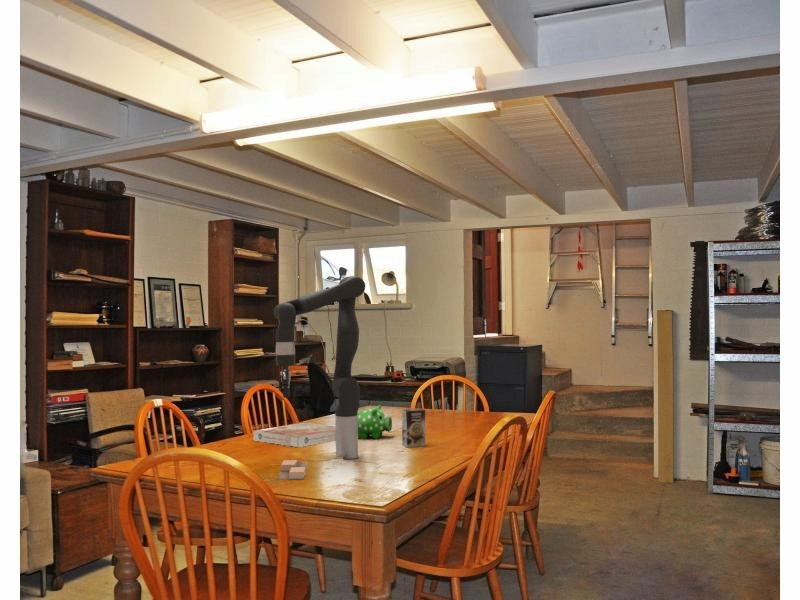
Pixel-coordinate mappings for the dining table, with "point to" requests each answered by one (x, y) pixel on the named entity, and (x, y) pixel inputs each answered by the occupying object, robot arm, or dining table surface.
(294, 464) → the tile
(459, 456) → the dining table surface
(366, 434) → the piggy bank
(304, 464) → the board
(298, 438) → the pizza box
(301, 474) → the tile
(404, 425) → the coffee box
